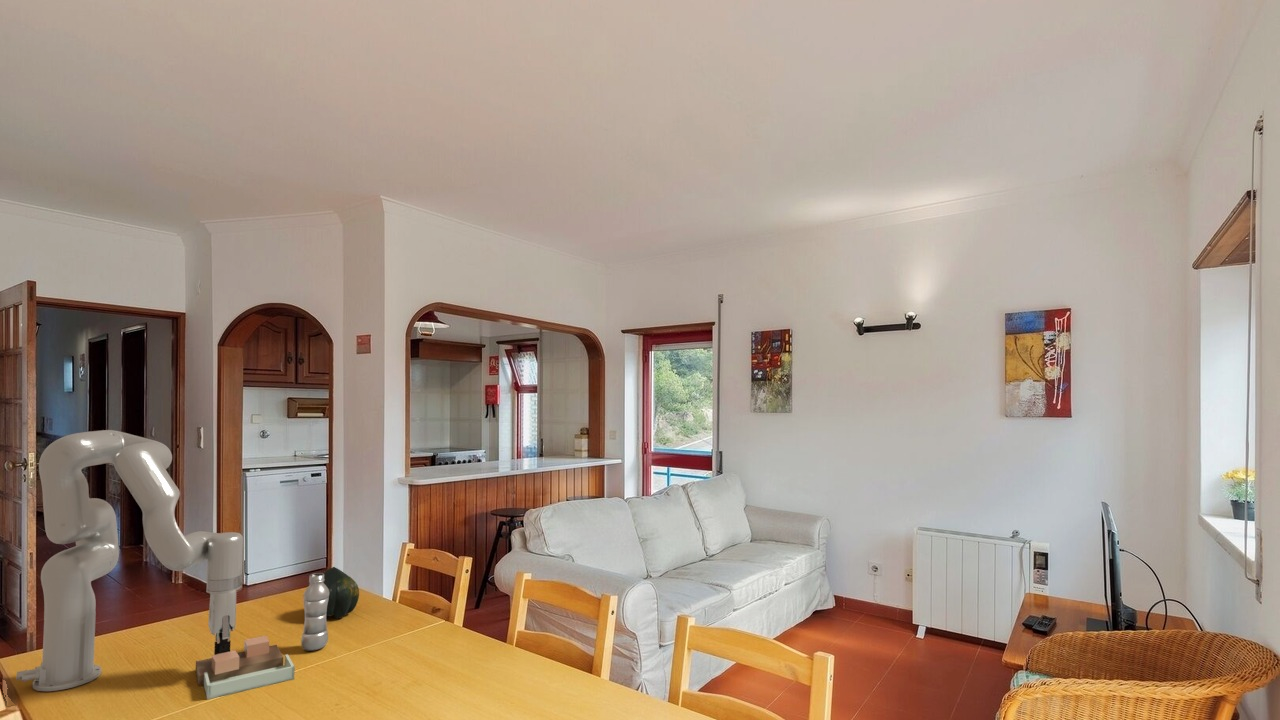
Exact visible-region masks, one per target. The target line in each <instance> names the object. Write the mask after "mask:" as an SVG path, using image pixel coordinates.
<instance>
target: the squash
mask: <svg viewBox="0 0 1280 720" xmlns="http://www.w3.org/2000/svg"><path fill="white" fill-rule="evenodd" d="M323 574H324V579H325V581H324V582H323V583H324V584H325V585H326V586H327V588H328V589H329V599H328V605H327V612H326V617H334V618H335V619H341V618H344V617H345V615H348V614H351V613H352V612H353V611H354V610H355V608H356V607H357V604H358V601H359V598H360V589H359V586H358V584H357V582H356V581H355V580H354V578H352V577H351V576H349V575H348V574H346V573H345V572H344V571H342V570H341V569H339V568H338V567H336V566H332V567H331V568H328V569H327V570H325V572H323Z"/></svg>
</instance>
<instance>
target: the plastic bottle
mask: <svg viewBox="0 0 1280 720" xmlns="http://www.w3.org/2000/svg"><path fill="white" fill-rule="evenodd" d="M323 573H324V572H323ZM323 573H322V572H316V573H312V574H309V577H308V578H309V579H308V583H309V585H308V586H307V588H306V589H305V590H304V592H303V596H302V597H303V609H304V623H303V629H302V635H301V640H300V641H301V647H302V649H303V650H305V651H307V652H309V651H312V652H313V651H317V650H321V649H323V648H324V647H325V646H326V645H327V643H328V641H329V632H328V629H327V628H328V625H327V616H326V612H327V605H328V599H329V589H328V588H327V586H326V585H325V584H324V583H323V582H324V581H325V579H324V574H323Z"/></svg>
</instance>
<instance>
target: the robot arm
mask: <svg viewBox="0 0 1280 720" xmlns="http://www.w3.org/2000/svg"><path fill="white" fill-rule="evenodd" d="M172 461H173V454H172V451H171V450H170V448H169V447H168V446H167V445H165V444H164V443H163V442H160V441H157V440H154V439H150V438H146V437H143V436H139V435H134V434H131V433H127V432H124V431H120V430H114V429H105V430H104V429H102V430H93V431H83V432H76V433H75V432H74V433H71V434H68V435H65V436H62V437H61V438H58V439H56V440H54V441H53V442H52V443H50V444H49V445H48V446H46V448H45V449H44V450H43V452H42V453H41V455H40V458H39V461H38V471H39V472H38V473H39V478H40V482H41V483H40V484H41V490H42V505H43V517H44V520H43V521H44V529H45V533H46V536H47V538H48V540H49V541H50V542H52V543H53V544H56V545H57V544H58V545H67V544H68V545H69V544H72V543H75V546H73V547H70V548H68V549H67V548H66V549H64V550H62V551H60V552H57V553H55V554H54V555H53V556H51V557H50V558H49V559H47V561H45V563H44V565H43V567H42V568H41V572H40V582H41V588H42V591H43V601H44V602H43V603H44V606H43V608H44V610H43V620H44V621H43V638H42V639H43V640H42V643H43V644H42V662H41V664H40V666H36V667H34V669H26V670H20V671H17V672H16V676H15V677H16V678H15V679H16V680H15V681H21V682H29V681H32V680H33V682H32V689H33V690H35V691H38V692H55V691H63V690H67V689H72V688H76V687H78V686H82V685H85V684H88V683H90V682H93V681H94V680H95V679H97V678H98V677H99V676H101V674H102V667H101V666H100V665H98V664H94V661H95V635H96V634H95V633H96V617H97V616H96V615H97V613H96V607H97V605H96V604H97V603H96V602H97V601H96V594H95V592H94V589H93V587H92V581H95V580H97V579H100V578H101V577H104V576H106V575H108V574H109V573H110V572H111V571H113V570H114V569H115V567H116V566H117V564H118V561H119V557H120V548H119V547H120V546H119V535H118V525H117V522H118V521H117V515H116V512H115V510H114V508H113V506H112V505H111V504H110V503H109V502H108V501H106V500H105V499H101V498H97V497H96V498H95V497H94V498H93V497H92V498H91V497H90V493H89V489H90V488H89V483H88V479H87V478H86V476H85V474H84V473H83V472H82V470H83V469H84V468H86V467H87V468H88V467H91V466H98V465H104V464H112V465H113V467H114V469H115V471H116V472H117V474H118V476H119V478H121V480H122V481H123V484H124V485H125V486H126V488H127V489H128V491H129V493H130V494H131V495H132V497H133V499H134V500H135V502H136V503H137V505H138V506H139V508H140V509H141V512H142V527H143V533H144V536H145V540H146V542H147V544H148V546H149V547H150V549H151V551H152V553H153V554H154V555H155V557H156V558H157V560H158V561H159V562H160V563H161V564H162V565H163V566H164V567H165V568H167V569H168V570H171V571H174V572H175V571H176V572H181V571H184V570H187V569H190V568H191V567H193V566H195V565H198V564H199V563H201V562H202V563H203V562H204V561H207V563H206V564H207V566H206V569H207V570H206V593H207V594H209V596H210V597H209V609H208V624H207V625H208V629H209V631H210V634H211V635H213V636H215V641H214V654H213V655H216V654H221V653H225V652H230V651H231V632H234V630H235V629H236V618H237V591H239V590H240V589H242V588H243V586H242V584H243V582H242V581H243V559H244V558H243V557H244V556H243V552H244V551H243V550H244V547H243V546H244V537H243V535H242V534H241V533H240V532H235V531H231V532H230V531H229V532H218V533H217V532H212V531H211V532H210V531H205V530H204V531H200V530H199V531H195V532H191V533H188V534H186V535H184V533H183V532H182V531H181V529H180V527H179V526H178V523H177V520H176V517H175V515H176V514H175V510H176V506H177V504H178V503H177V502H178V501H179V498H180V496H181V491H180V489H179V488H178V486H177V485H176V483H175V482H174V480H173V479H172V477H171V476H170V474H169V472H168V471H167V469H168V468H169V467H170V465H171V464H172Z"/></svg>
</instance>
